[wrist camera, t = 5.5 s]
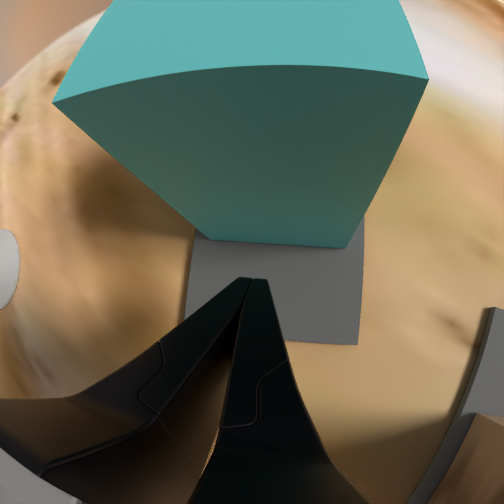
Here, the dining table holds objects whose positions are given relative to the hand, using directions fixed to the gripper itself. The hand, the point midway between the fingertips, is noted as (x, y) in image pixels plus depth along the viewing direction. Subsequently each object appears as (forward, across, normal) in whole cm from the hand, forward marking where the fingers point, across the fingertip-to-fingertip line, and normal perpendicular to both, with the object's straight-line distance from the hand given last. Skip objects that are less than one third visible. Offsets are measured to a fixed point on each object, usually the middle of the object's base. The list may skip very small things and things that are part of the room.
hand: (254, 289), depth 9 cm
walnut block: (-2, -15, +12) cm, 19 cm away
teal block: (+9, 0, 0) cm, 9 cm away
